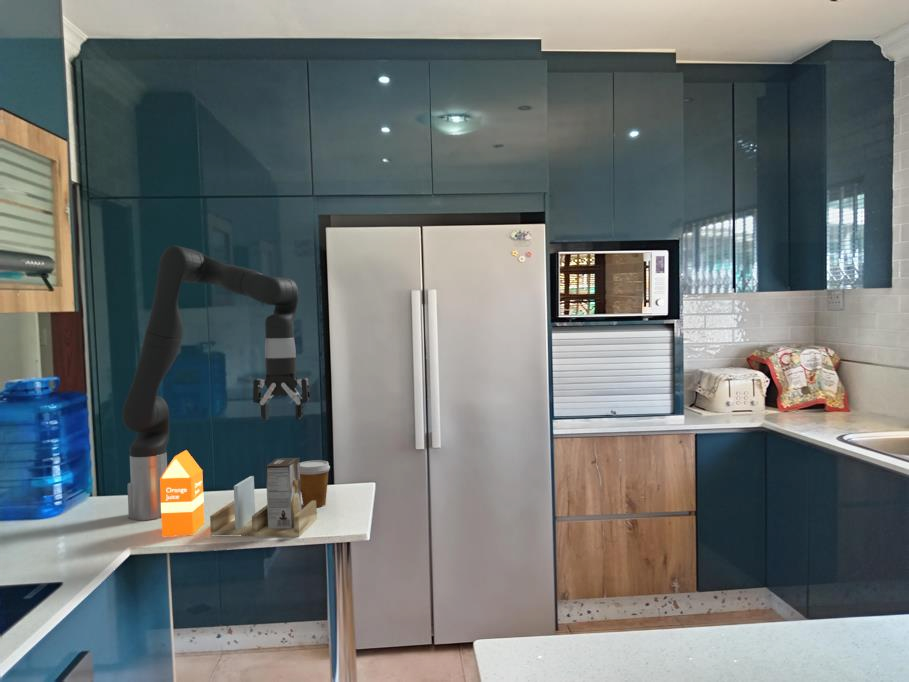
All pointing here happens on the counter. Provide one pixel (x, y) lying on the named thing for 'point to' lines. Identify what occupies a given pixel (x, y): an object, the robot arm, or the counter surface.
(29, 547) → the counter surface
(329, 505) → the counter surface
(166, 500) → the orange juice
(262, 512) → the rack
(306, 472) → the disposable coffee cup
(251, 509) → the pale grey flat panel
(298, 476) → the coffee box
